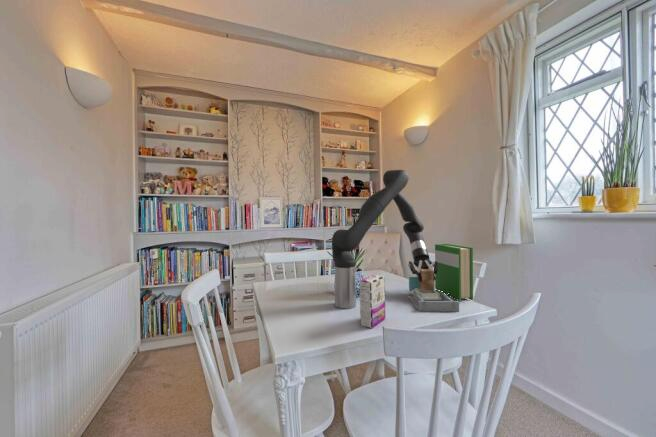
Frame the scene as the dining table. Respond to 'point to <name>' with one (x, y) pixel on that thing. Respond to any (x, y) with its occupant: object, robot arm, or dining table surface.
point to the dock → (434, 303)
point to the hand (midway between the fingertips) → (427, 280)
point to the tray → (423, 294)
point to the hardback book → (454, 270)
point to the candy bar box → (372, 300)
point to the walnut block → (427, 280)
